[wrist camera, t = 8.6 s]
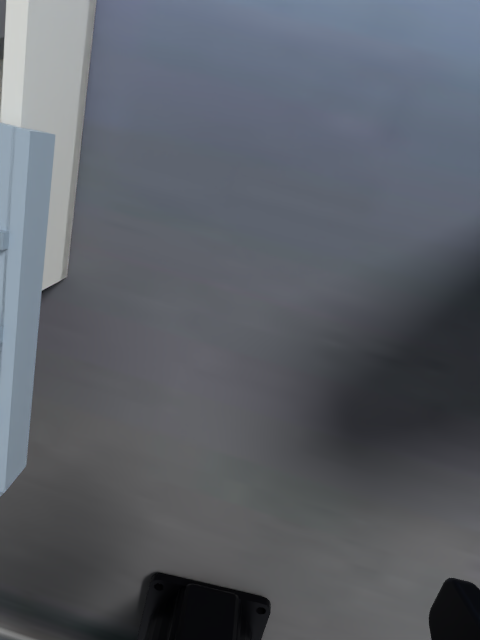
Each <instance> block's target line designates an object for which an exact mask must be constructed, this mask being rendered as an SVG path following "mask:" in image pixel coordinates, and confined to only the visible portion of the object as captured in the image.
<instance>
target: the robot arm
mask: <svg viewBox="0 0 480 640" xmlns="http://www.w3.org/2000/svg"><path fill="white" fill-rule="evenodd" d="M158 583H159V584H158ZM269 615H270V601H269V600H268V599H267V598H264V597H261V596H256V595H252V594H248V593H243V592H239V591H235V590H231V589H226V588H222V587H218V586H213V585H209V584H205V583H200V582H196V581H192V580H187V579H183V578H179V577H175V576H170V575H166V574H161V573H158V574H155V575H153V576H152V578H151V581H150V585H149V589H148V594H147V598H146V603H145V607H144V612H143V616H142V621H141V625H140V630H139V634H138V639H137V640H261V638H262V635H263V632H264V630H265V627H266V624H267V621H268V618H269ZM429 627H430V633H431V639H432V640H480V590H479V588H478V587H476V586H475V585H474V584H473V583H471V582H468V581H464V580H460V579H455V578H448V579H447V580H446V581H445V582H444V584H443V586H442V588H441V590H440V591H439V593H438V595H437V597H436V599H435V601H434V603H433V605H432V607H431V610H430V614H429Z"/></svg>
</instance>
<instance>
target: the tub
mask: <svg viewBox="0 0 480 640" xmlns="http://www.w3.org/2000/svg"><path fill="white" fill-rule="evenodd" d="M96 1H97V0H0V122H1V123H5V124H10V125H14V126H18V127H22V128H26V129H32V130H39V131H43V132H47V133H51V134H55V146H54V158H53V169H52V180H51V191H50V203H49V214H48V225H47V236H46V248H45V259H44V270H43V282H42V290H44V289H46V288H48V287H50V286H51V285H53V284H55V283H57V282H59V281H61V280H63V279H64V278H66V277H67V272H68V263H69V253H70V244H71V235H72V225H73V216H74V207H75V197H76V188H77V178H78V169H79V160H80V150H81V141H82V132H83V122H84V113H85V104H86V94H87V85H88V76H89V66H90V57H91V47H92V38H93V29H94V19H95V10H96Z"/></svg>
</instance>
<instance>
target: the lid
mask: <svg viewBox="0 0 480 640" xmlns="http://www.w3.org/2000/svg"><path fill="white" fill-rule="evenodd" d="M54 146H55V134H51V133H47V132H43V131H39V130H32V129H26V128H22V127H18V126H14V125H10V124H5V123H1V122H0V497H1V495H2V494H3V493H4V492H5V491H6V490H7V489H8V488H9V486H10V485H11V484H12V483H13V481H14V480H15V479H16V478H17V477H18V475H19V474H20V473H21V472H22V470H23V469H24V468H25V467H26V462H27V451H28V440H29V428H30V417H31V406H32V394H33V383H34V372H35V361H36V349H37V338H38V327H39V315H40V304H41V293H42V282H43V270H44V259H45V248H46V236H47V225H48V214H49V203H50V191H51V180H52V169H53V158H54Z"/></svg>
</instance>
